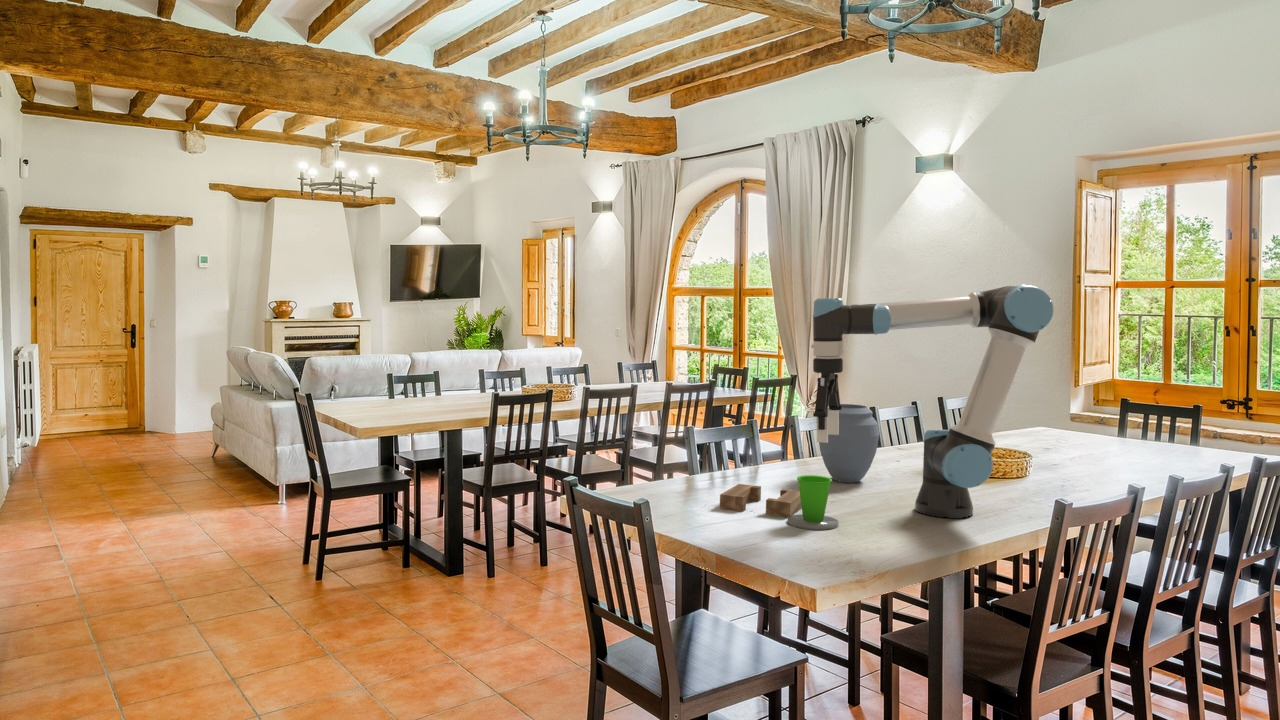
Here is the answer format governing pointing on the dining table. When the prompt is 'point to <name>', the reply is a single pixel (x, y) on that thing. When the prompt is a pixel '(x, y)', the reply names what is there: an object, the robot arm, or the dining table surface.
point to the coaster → (824, 525)
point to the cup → (813, 496)
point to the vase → (851, 444)
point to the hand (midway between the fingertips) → (828, 438)
